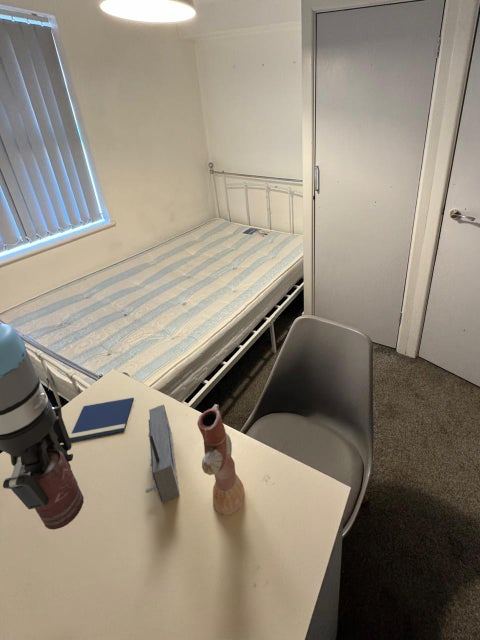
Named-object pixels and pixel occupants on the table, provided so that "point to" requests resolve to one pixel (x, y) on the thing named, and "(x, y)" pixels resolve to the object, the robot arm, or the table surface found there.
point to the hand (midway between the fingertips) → (64, 498)
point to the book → (102, 419)
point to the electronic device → (162, 455)
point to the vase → (220, 462)
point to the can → (59, 492)
